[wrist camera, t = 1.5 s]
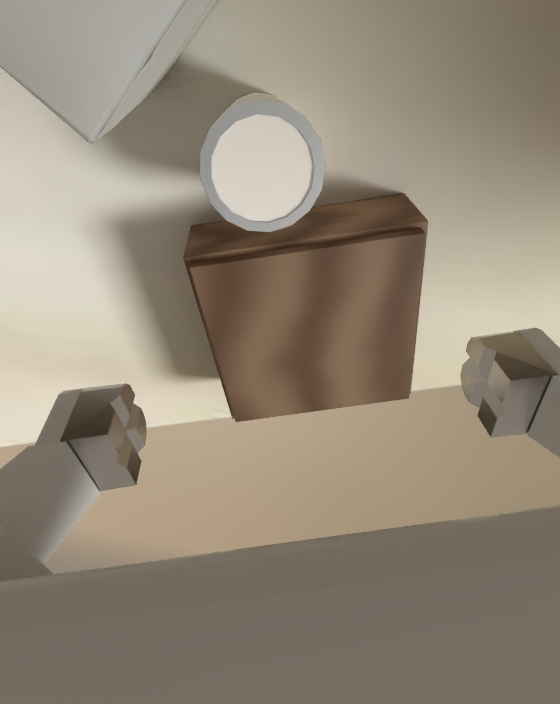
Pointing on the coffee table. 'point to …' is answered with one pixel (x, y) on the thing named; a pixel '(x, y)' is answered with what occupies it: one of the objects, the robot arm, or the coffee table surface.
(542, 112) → the coffee table surface
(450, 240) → the coffee table surface
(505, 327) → the coffee table surface
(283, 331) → the walnut box
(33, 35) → the supplement box
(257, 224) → the white cylinder
